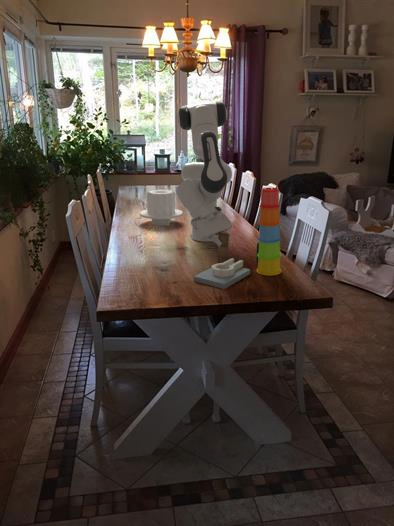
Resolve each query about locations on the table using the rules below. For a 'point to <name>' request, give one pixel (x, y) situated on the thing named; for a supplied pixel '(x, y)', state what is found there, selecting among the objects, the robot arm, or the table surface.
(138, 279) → the table surface
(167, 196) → the cake on stand
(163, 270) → the table surface
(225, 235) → the walnut dowel
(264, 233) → the stacking cups
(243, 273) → the keyhole board
